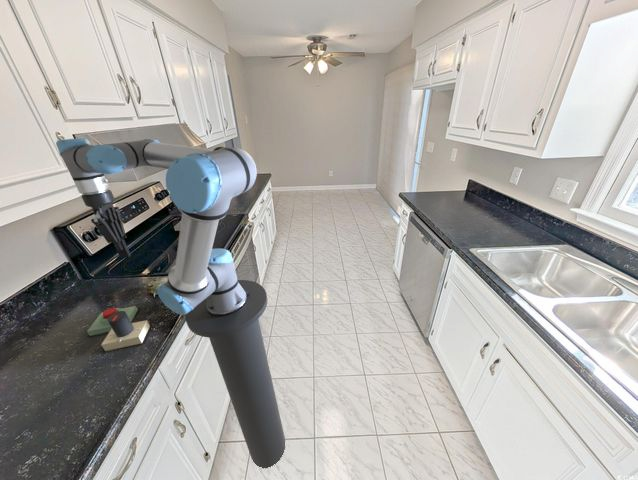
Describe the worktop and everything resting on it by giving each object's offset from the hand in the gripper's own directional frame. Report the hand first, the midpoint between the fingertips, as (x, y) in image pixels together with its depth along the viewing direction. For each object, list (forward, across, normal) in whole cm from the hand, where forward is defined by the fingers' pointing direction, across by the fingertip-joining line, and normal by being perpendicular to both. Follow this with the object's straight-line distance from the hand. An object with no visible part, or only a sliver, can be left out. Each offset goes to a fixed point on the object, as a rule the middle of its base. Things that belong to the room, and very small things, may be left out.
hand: (125, 256), depth 89 cm
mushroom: (+25, +13, -3) cm, 28 cm away
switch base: (+24, -4, +11) cm, 27 cm away
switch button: (+21, -3, +11) cm, 24 cm away
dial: (+21, -14, +3) cm, 26 cm away
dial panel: (+24, -14, +2) cm, 28 cm away
